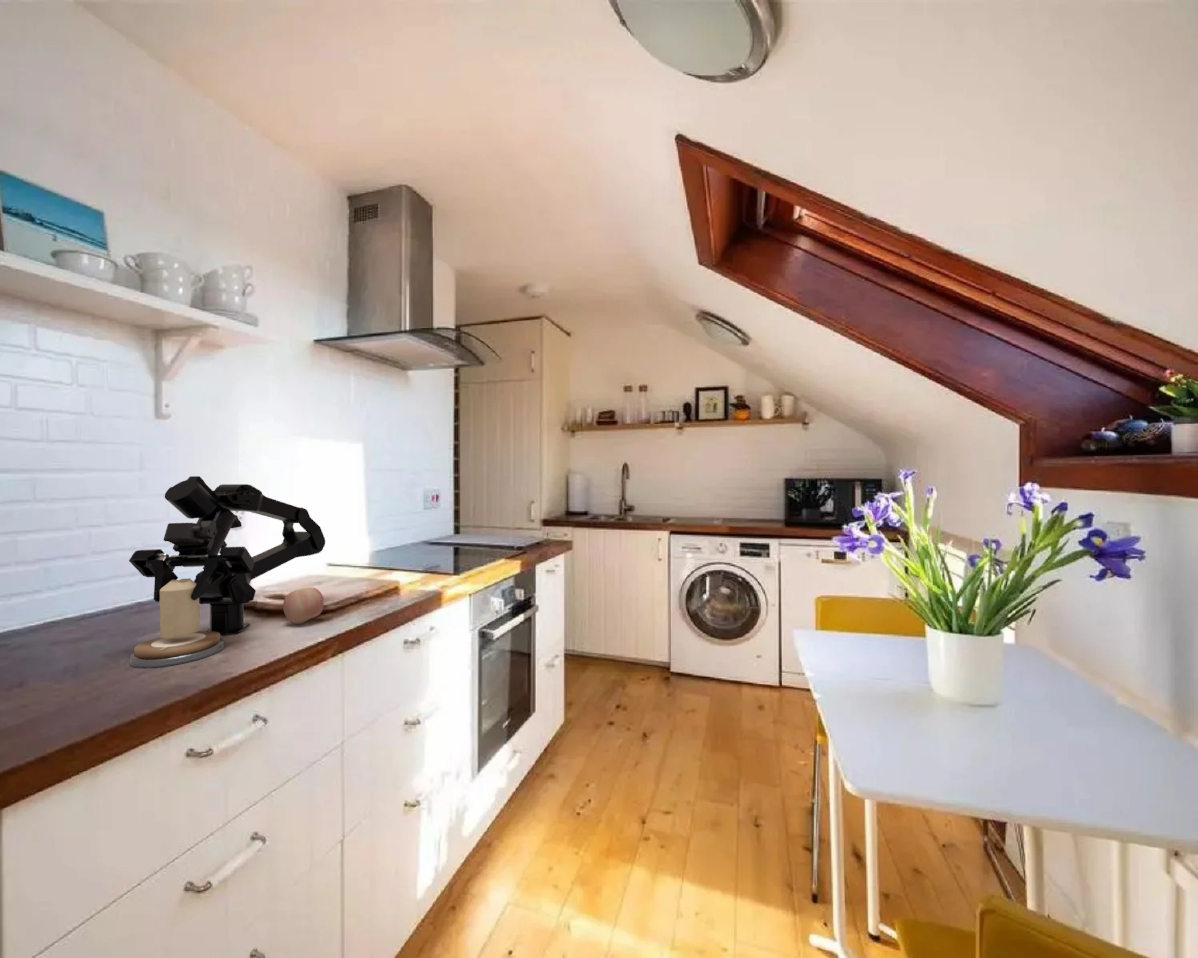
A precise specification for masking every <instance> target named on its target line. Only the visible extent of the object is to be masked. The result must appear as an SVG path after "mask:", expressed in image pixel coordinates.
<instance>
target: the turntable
mask: <svg viewBox="0 0 1198 958" xmlns="http://www.w3.org/2000/svg"><path fill="white" fill-rule="evenodd" d="M220 638H221V635H220V633H218V632H215V631H208V630H199V631H198V632H196V633H193V634H190V635H186V636H180V637H173V638H163V637H161V636H160V637H157V638H153V639H152V638H151V639H149V640H146V641H144V642H142V643H138V644H137V645H135V646H134V648H133V653H134V656H135V657H137V658H142V659H156V658H166V657H173V656H179V655H184V654H189V653H193V652H197V651H201V650H204V649H207V648H209V647H212V646H214V645H216V644H218V643H219V642H220Z"/></svg>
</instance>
